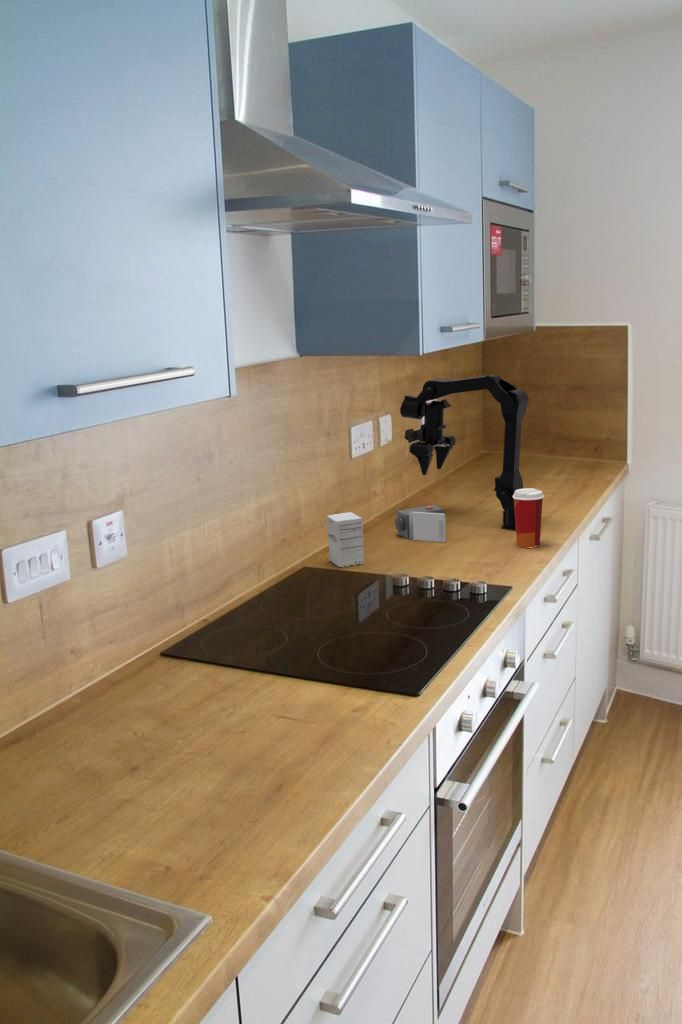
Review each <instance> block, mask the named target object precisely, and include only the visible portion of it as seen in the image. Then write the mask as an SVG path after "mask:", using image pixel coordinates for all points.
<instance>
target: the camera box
mask: <svg viewBox="0 0 682 1024" xmlns="http://www.w3.org/2000/svg"><path fill="white" fill-rule="evenodd" d="M409 511H413V512H427V513H442V514H445V513H444V511H445V509H444V508H442V507H440V506H437V505H435V504H432V505H426V506H425V505H424V506H418V507H411V508H407V509H406V508H405V509H400V510H396V518H395V520H394V525H395V528H396V530H397V535H399V536H401V537H403V538H404V539H407V540H408V539H409V540H410V536H409Z"/></svg>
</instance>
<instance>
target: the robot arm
mask: <svg viewBox="0 0 682 1024" xmlns="http://www.w3.org/2000/svg"><path fill="white" fill-rule="evenodd" d="M482 390H483V391H484V390H487V391H488V392H489V393H490V394H491V396H492V398H493V399H494V400H495V401H497V402H498V403H499V404H500V411H501V412H500V413H501V416H502V419H503V421H504V437H503V438H504V439H503V457H502V458H503V459H502V471H501V474H499V475H498V476H495V477H494V484H495V485H494V489H493V492H495V496H496V498H497V499H498V501H500V505H501V508H502V509H503V510H502V525H501V527H500V528H501V529H507V530H513V531H514V530H515V531H516V524H515V509H514V498H513V495H514V493H515V490H518V489H524V482H523V477H522V475H521V472H520V457H521V440H522V438H521V437H522V422H523V420H524V417H525V415H526V413H527V409H528V405H529V401H530V400H529V395H528V394H527V392H525V390H523V389H519V388H517V387H516V386H515V385H514V384H512V383H510V382H509V381H507V380H504V379H503V378H502V377H501V376H500V375H499V374H494V373H493V374H489V375H483V376H477V377H468V378H460V379H451V378H439V377H438V378H435V379H431V380H426V382H424V384H423V386H422V390H421V392H420V393H419V394H418V395H417V396H413V395H410V394H407V395H405V396H404V399H403V400H402V403H401V405H400V408H399V411H400V412H399V413H400V416H401V417H402V418H406V419H413V420H422V419H423V418H424V422H423V423H422V424H421V425H420V428H419V429H416V430H415V429H414V428H409V429H405V431H404V437H403V438H404V440H406V441H407V442H408V444H410V445H409V448H408V449H409V451H408V452H409V453H410V454H412V456H414V457H415V458H416V459H417V462H418V464H419V467H420V471H421V474H422V475H423V476H426V475H428V471H429V468H430V465H431V462H432V459H433V456H434V453H433V451H435V458H436V461H435V462H436V469H437V470H441V469H443V468H442V467H443V465H444V463H445V461H446V459H447V458H448V456H449V454H450V453H451V451H452V450H453V449H454V446H455V445H456V438H455V436H454V435H451V434H444V429H446V428H447V425H446V424H444V418H445V415H444V413H445V412H444V411H445V409H448V408H451V407H452V405H451V403H449V402H448V400H447V399H446V398H444V397H447V396H450V395H451V396H452V395H453V394H458V393H466V392H475V391H476V392H477V391H482ZM440 398H444V399H442V400H438V399H440ZM427 401H429V402H427ZM430 401H431V402H430Z"/></svg>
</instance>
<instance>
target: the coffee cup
mask: <svg viewBox="0 0 682 1024" xmlns="http://www.w3.org/2000/svg"><path fill="white" fill-rule="evenodd" d="M544 497H545V495H544V494H543V491H542V490H540V489H537V488H532V487H531V488H527V487H526V488H523V489H518V490H515V493H514V495H513V498H514V509H515V524H516V530H515V534H516V535H515V536H516V545H517V547H518V546H519V547H518V548H521V547H535V546H538V545H539V544H540V543H541V530H542V516H543V514H542V512H543V498H544ZM539 546H540V545H539Z"/></svg>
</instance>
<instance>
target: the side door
mask: <svg viewBox="0 0 682 1024" xmlns="http://www.w3.org/2000/svg"><path fill="white" fill-rule="evenodd" d="M446 525H447V524H446V513H444V514H442V513H427V512H413V511H409V536H410V539H409V540H410V541H422V542H423V541H425V542H436V543H446V542H447V529H446Z"/></svg>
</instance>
